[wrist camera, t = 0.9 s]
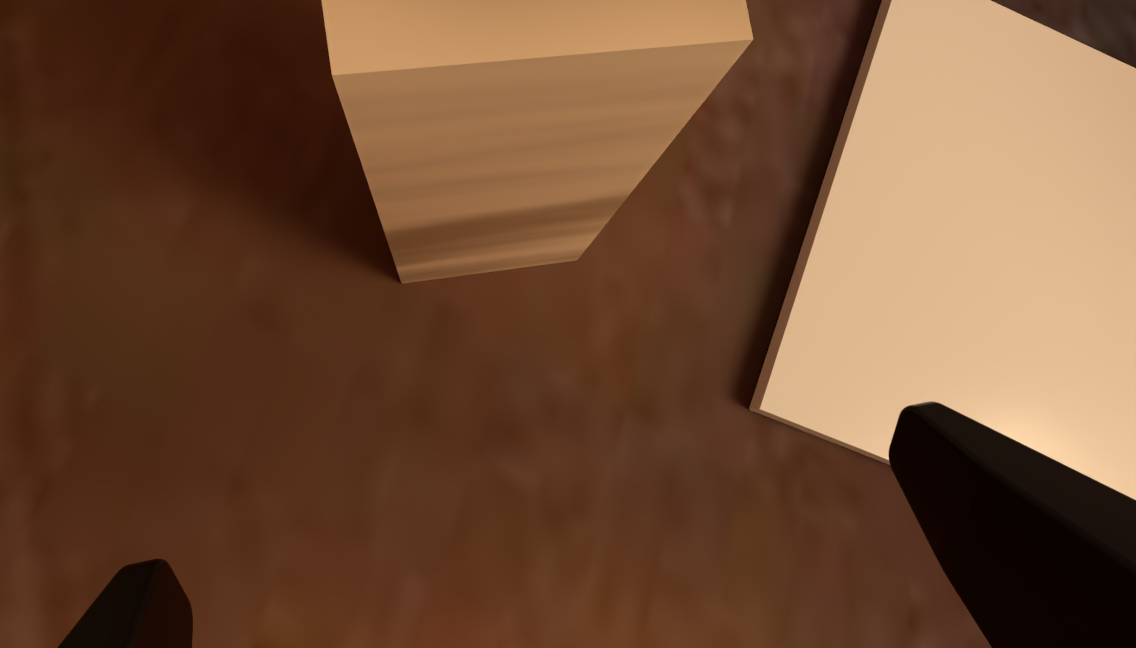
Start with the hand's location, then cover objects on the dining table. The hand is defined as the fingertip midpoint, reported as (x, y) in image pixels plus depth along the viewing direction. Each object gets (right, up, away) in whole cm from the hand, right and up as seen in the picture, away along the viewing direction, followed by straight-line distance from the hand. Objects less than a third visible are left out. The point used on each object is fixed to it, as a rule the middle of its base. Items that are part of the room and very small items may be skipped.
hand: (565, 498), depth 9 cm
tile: (+15, +4, +15) cm, 21 cm away
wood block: (-3, +6, +13) cm, 14 cm away
